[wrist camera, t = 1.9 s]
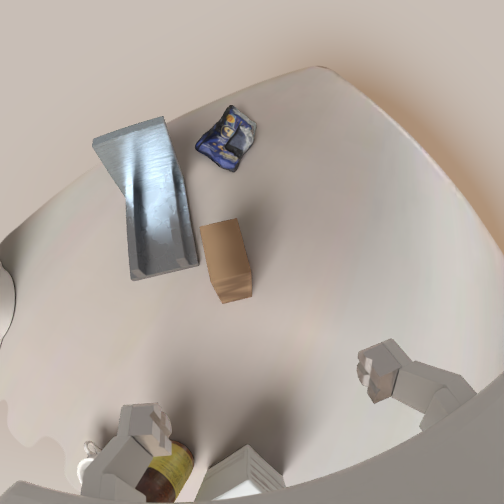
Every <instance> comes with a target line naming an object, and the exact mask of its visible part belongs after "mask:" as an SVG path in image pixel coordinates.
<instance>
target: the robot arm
mask: <svg viewBox="0 0 504 504" xmlns="http://www.w3.org/2000/svg"><path fill="white" fill-rule="evenodd" d="M14 305H15V291H14V284H13V281H12V278H11V276H10V274H9V273H8V272H7V271H6V270H5V269H4V268H3V267H2V264H1V261H0V345H1V341H2V338H3V336H4V335H5V333H6V332H7V330H8V328H9V326H10V323H11V320H12V317H13V312H14ZM358 359H359V361H360V362H359V363H358V365H357V374H358V378H359V380H360V382H361V384H362V385H363V386H366V387H368V390H367V393H368V395H369V397H370V398H371V400H372V402H373V403H374V404H375V403H377V402H379V401H382V400H384V399H386V398H389V397H391V396H392V398H394V399H396V400H398V401H400V402H402V403H404V404H406V405H408V406H410V407H412V408H414V409H416V410H418V411H420V412H422V413H424V414H425V415H424V417H423V419H422V421H421V423H420V426H419V427H420V428H421V430H422V432H421V433H419V434H417V435H415V436H414V437H412V438H410V439H408V440H407V441H405V442H403V443H401V444H399V445H397V446H395V447H393V448H391V449H389V450H387V451H385V452H383V453H381V454H379V455H377V456H374V457H372V458H370V459H368V460H365V461H363V462H361V463H358V464H356V465H353V466H351V467H348V468H346V469H343V470H341V471H338V472H335V473H332V474H329V475H327V476H324V477H321V478H317V479H314V480H311V481H308V482H304V483H301V484H297V485H294V486H290V487H286V488H282V489H278V490H273V491H269V492H264V493H259V494H254V495H248V496H242V497H236V498H229V499H221V500H211V501H200V502H182V503H146V496H145V495H144V494H142V493H141V492H139V491H138V490H136V489H135V487H136V486H137V484H138V482H139V481H140V479H141V477H142V476H143V474H144V472H145V471H146V469H147V467H148V466H149V464H150V462H151V461H152V459H153V457H157V456H169V455H172V442H171V441H170V440H169V439H168V438H169V436H170V435H171V434H172V427H171V423H170V420H169V417H168V416H167V414H166V413H164V412H162V411H161V406H160V405H159V403H146V404H132V405H123V407H122V408H121V414H120V419H119V425H118V431H117V437H113V438H112V439H111V440H110V442H109V443H108V444H107V445H106V446H105V447H104V449H103V450H102V451H101V452H100V453H99V454H98V455H97V457H96V458H95V459H94V460H93V461H92V462H91V463H90V465H89V466H88V467H87V468H86V469H85V470H84V475H83V481H82V488H81V495H76V494H71V493H66V492H62V491H58V490H53V489H50V488H46V487H42V486H39V485H35V484H32V483H29V482H26V481H17V482H16V483H14V484H13V485H12V486H11V487H10V488H8V489H7V490H6V491H5V492H4V493H3V494H2V495H1V496H0V504H504V372H502V373H501V374H500V375H499V376H498V377H497V378H496V379H495V380H493V381H492V382H491V383H490V384H489V385H488V386H486V387H485V388H484V389H483V390H482V391H480V392H479V393H478V394H477V393H476V392H475V391H474V390H473V388H472V387H471V386H470V385H469V384H468V383H467V382H466V381H465V379H464V378H463V377H462V376H461V375H458V374H455V373H452V372H449V371H446V370H443V369H439V368H436V367H433V366H430V365H427V364H424V363H421V362H418V361H414V362H412V360H411V359H410V358H409V357H408V356H407V355H406V353H405V352H404V351H403V350H402V349H401V348H400V346H399V345H398V344H397V343H396V342H395V341H394V340H393V339H388V340H386V341H384V342H381V343H378V344H376V345H374V346H371V347H369V348H366V349H364V350H361V351H359V353H358Z"/></svg>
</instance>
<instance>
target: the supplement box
mask: <svg viewBox="0 0 504 504" xmlns="http://www.w3.org/2000/svg"><path fill="white" fill-rule="evenodd" d="M282 488H286V486H285V483H284V479H283V476H281V475H280V474H279V473H278V472H277V471H276V470H275V469H274V468H272V467H271V466H270V465H269V464H268V463H267V462H266V461H265V460H264V459H263V458H262V457H261V456H260V455H259V454H258V453H257V452H256V451H255V450H254V449H253V448H252V447H251V446H250V445H249V444H247V445H245V446H244V447H242V448H241V449H239V450H238V451H236V452H235V453H233V454H232V455H230V456H229V457H227V458H226V459H224V460H223V461H221V462H219V463H218V464H216V465H215V466H213V467H212V468H210V469H208V470H207V472H206V475H205V477H204V479H203V482H202V484H201V487H200V489H199V491H198V494H197V496H196V498H195V501H194V502H200V501H211V500H221V499H229V498H236V497H242V496H248V495H254V494H259V493H264V492H269V491H273V490H278V489H282Z"/></svg>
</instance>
